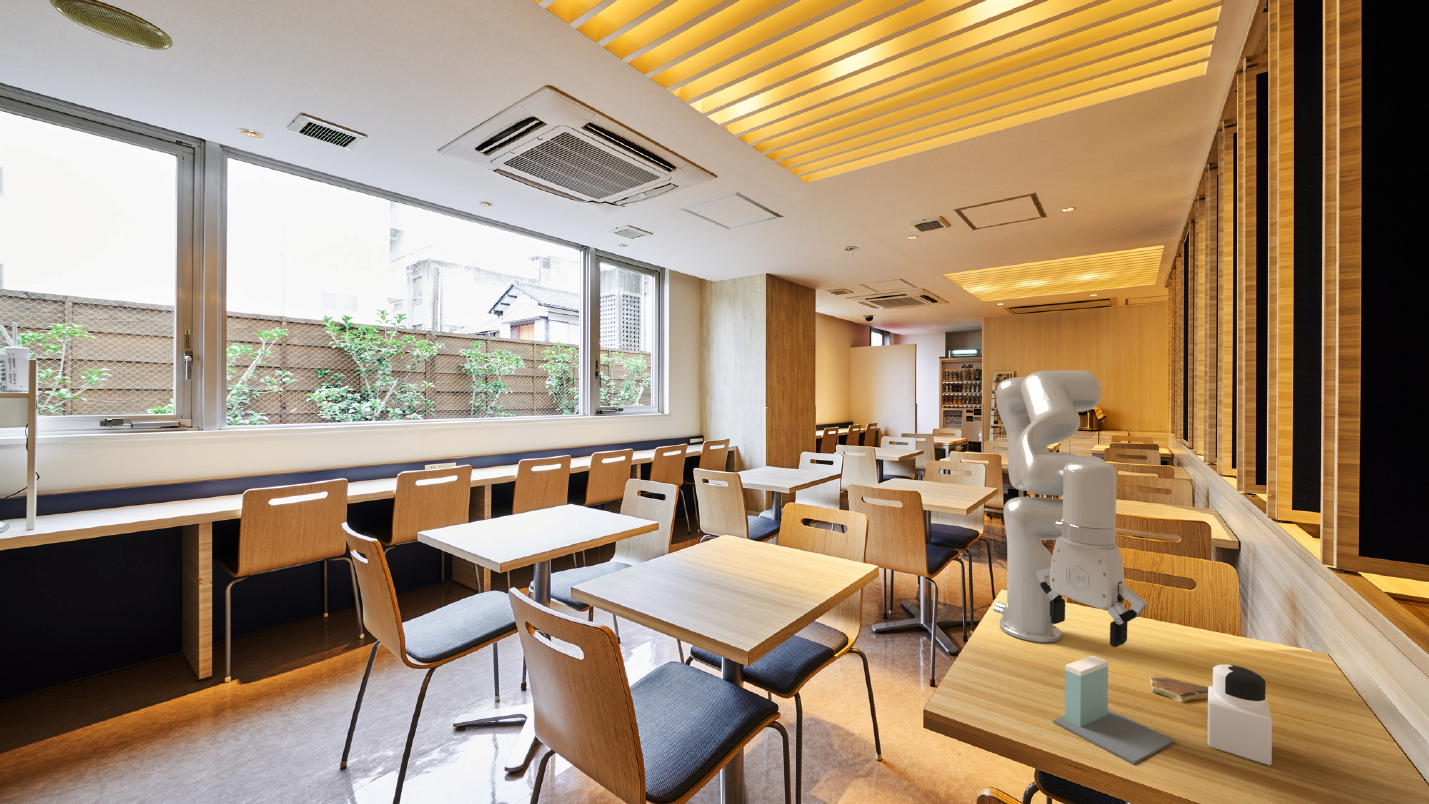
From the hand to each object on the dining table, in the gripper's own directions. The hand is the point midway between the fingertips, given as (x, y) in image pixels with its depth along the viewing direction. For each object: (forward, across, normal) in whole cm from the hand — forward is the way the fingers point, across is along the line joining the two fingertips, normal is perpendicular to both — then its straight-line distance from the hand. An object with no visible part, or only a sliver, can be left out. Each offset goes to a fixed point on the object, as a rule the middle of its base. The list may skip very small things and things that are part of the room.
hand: (1086, 633), depth 95 cm
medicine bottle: (+15, +16, +13) cm, 25 cm away
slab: (+14, +1, -1) cm, 14 cm away
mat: (+14, +5, -1) cm, 15 cm away
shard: (+16, +3, +25) cm, 30 cm away
